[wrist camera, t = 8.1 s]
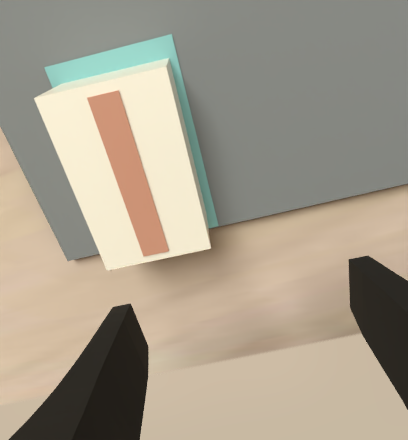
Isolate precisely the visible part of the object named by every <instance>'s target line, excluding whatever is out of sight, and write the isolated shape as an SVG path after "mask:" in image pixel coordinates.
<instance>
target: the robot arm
mask: <svg viewBox="0 0 408 440" xmlns="http://www.w3.org/2000/svg"><path fill="white" fill-rule="evenodd" d="M349 284H350V308H351V310H352V313H353V315H354V317H355V319H356V322H357V324H358V326H359V328H360V330H361V332H362V335H363V337H364V338H365V340H366V342H367V343H368V345H369V347H370V348H371V350H372V351H373V353H374V355H375V356H376V358H377V360H378V361H379V363H380V364H381V366H382V368H383V369H384V371H385V373H386V374H387V376H388V377H389V379H390V381H391V382H392V384H393V385H394V387H395V389H396V390H397V392H398V394H399V395H400V397H401V399H402V400H403V402H404V404H405V406H406V407H407V409H408V281H407V280H405V279H404V278H402V277H401V276H399V275H397V274H396V273H394V272H393V271H391V270H390V269H388V268H386V267H385V266H383V265H382V264H380V263H379V262H377V261H376V260H374V259H373V258H371V257H369V256H364V257H359V258H354V259H349ZM147 380H148V345H147V342H146V340H145V337H144V335H143V332H142V330H141V328H140V325H139V323H138V320H137V318H136V315H135V313H134V311H133V308H132V306H131V304H126V305H121V306H116V307H113V308H112V309H111V311H110V312H109V314H108V315H107V317H106V318H105V320H104V321H103V323H102V324H101V326H100V327H99V329H98V330H97V332H96V333H95V335H94V336H93V338H92V339H91V341H90V342H89V344H88V345H87V347H86V348H85V349H84V351H83V352H82V354H81V355H80V357H79V358H78V360H77V361H76V362H75V364H74V365H73V366H72V368H71V369H70V370H69V372H68V373H67V374H66V376H65V377H64V378H63V379H62V381H61V382H60V383H59V385H58V386H57V387H56V388H55V390H54V391H53V392H52V393H51V395H50V396H49V397H48V398H47V399H46V400H45V402H44V403H43V404H42V405H41V406H40V407H39V408H38V409H37V411H36V412H35V413H34V414H33V415H32V416H31V417H30V419H28V421H27V422H26V423H25V424H24V425H23V426H22V427H21V428H20V429H19V430H18V431H17V432H16V433H15V434H14V435H13V436H12V437H11V438H10V439H9V440H140V433H141V426H142V418H143V411H144V403H145V396H146V389H147Z"/></svg>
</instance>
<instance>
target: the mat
mask: <svg viewBox="0 0 408 440" xmlns="http://www.w3.org/2000/svg"><path fill="white" fill-rule="evenodd" d="M167 58H169V60H170V64H171V68H172V72H173V76H174V80H175V84H176V89H177V93H178V97H179V101H180V105H181V109H182V114H183V118H184V122H185V126H186V130H187V134H188V139H189V143H190V147H191V151H192V155H193V159H194V164H195V168H196V172H197V176H198V180H199V184H200V189H201V193H202V197H203V201H204V205H205V209H206V214H207V221H208V229H211V228H215V227H220V226H224V225H228V224H233V223H237V222H242V221H246V220H250V219H255V218H259V217H263V216H268V215H272V214H277V213H281V212H285V211H290V210H294V209H299V208H303V207H307V206H312V205H316V204H321V203H325V202H329V201H334V200H338V199H343V198H347V197H351V196H356V195H360V194H364V193H369V192H373V191H378V190H382V189H386V188H391V187H395V186H400V185H404V184H408V0H0V127H1V129H2V131H3V133H4V135H5V137H6V139H7V141H8V143H9V145H10V147H11V149H12V151H13V153H14V155H15V157H16V159H17V161H18V163H19V165H20V167H21V169H22V171H23V173H24V175H25V177H26V179H27V181H28V183H29V185H30V187H31V189H32V191H33V193H34V195H35V197H36V199H37V201H38V203H39V205H40V207H41V209H42V211H43V213H44V215H45V217H46V219H47V221H48V223H49V225H50V227H51V229H52V231H53V233H54V234H55V236H56V238H57V240H58V242H59V244H60V246H61V248H62V250H63V252H64V254H65V256H66V258H67V260H68V261H70V260H75V259H79V258H83V257H88V256H92V255H97V254H100V253H99V251H98V248H97V246H96V243H95V241H94V239H93V236H92V234H91V232H90V229H89V227H88V225H87V222H86V220H85V218H84V215H83V213H82V211H81V208H80V206H79V203H78V201H77V199H76V196H75V194H74V192H73V189H72V187H71V185H70V182H69V180H68V178H67V175H66V173H65V171H64V168H63V166H62V163H61V161H60V159H59V156H58V154H57V152H56V149H55V147H54V145H53V142H52V140H51V138H50V135H49V133H48V130H47V128H46V126H45V123H44V121H43V119H42V116H41V114H40V112H39V109H38V107H37V105H36V102H35V100H34V98H35V97H37V96H39V95H41V94H43V93H45V92H47V91H49V90H51V89H52V88H54V87H56V86H58V85H60V84H63V83H67V82H71V81H75V80H79V79H84V78H88V77H92V76H96V75H100V74H104V73H109V72H113V71H117V70H121V69H125V68H129V67H133V66H138V65H142V64H146V63H150V62H154V61H158V60H162V59H167Z"/></svg>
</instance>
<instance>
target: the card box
mask: <svg viewBox="0 0 408 440" xmlns="http://www.w3.org/2000/svg"><path fill="white" fill-rule="evenodd" d="M34 100H35V102H36V105H37V107H38V109H39V112H40V114H41V116H42V119H43V121H44V123H45V126H46V128H47V130H48V133H49V135H50V138H51V140H52V142H53V145H54V147H55V149H56V152H57V154H58V156H59V159H60V161H61V163H62V166H63V168H64V171H65V173H66V175H67V178H68V180H69V182H70V185H71V187H72V189H73V192H74V194H75V196H76V199H77V201H78V203H79V206H80V208H81V211H82V213H83V215H84V218H85V220H86V222H87V225H88V227H89V229H90V232H91V234H92V236H93V239H94V241H95V243H96V246H97V248H98V251H99V253H100V255H101V258H102V260H103V262H104V265H105V267H106V269H107V271H108V270H112V269H117V268H122V267H127V266H131V265H136V264H141V263H146V262H150V261H155V260H160V259H164V258H169V257H174V256H179V255H183V254H188V253H193V252H198V251H202V250H207V249H211V244H210V236H209V229H208V221H207V214H206V209H205V205H204V201H203V197H202V193H201V189H200V184H199V180H198V176H197V172H196V168H195V164H194V159H193V155H192V151H191V147H190V143H189V139H188V134H187V130H186V126H185V122H184V118H183V114H182V109H181V105H180V101H179V97H178V93H177V89H176V84H175V80H174V76H173V72H172V68H171V64H170V60H169V58H167V59H162V60H158V61H154V62H150V63H146V64H142V65H138V66H133V67H129V68H125V69H121V70H117V71H113V72H109V73H104V74H100V75H96V76H92V77H88V78H84V79H79V80H75V81H71V82H67V83H63V84H60V85H58V86H56V87H54V88H52V89H51V90H49V91H47V92H45V93H43V94H41V95H39V96H37V97H35V98H34Z"/></svg>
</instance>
